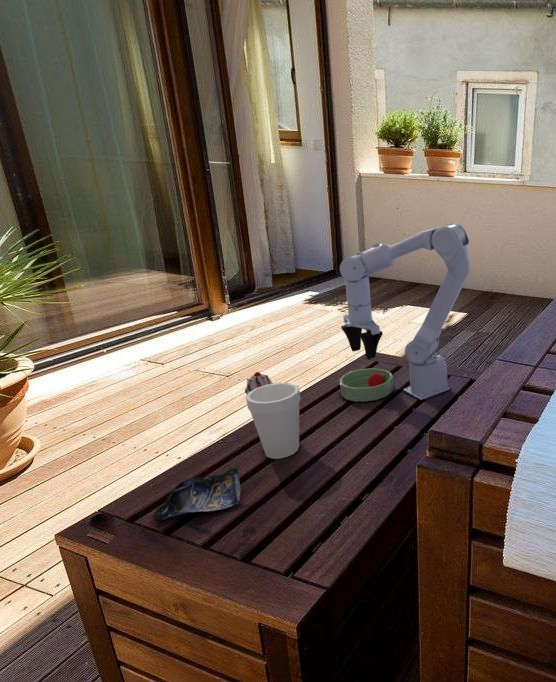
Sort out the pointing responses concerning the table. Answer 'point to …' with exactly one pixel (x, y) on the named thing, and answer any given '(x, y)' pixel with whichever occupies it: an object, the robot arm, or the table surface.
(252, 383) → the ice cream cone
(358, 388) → the bowl
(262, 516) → the table surface
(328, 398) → the table surface
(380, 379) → the tomato
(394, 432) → the table surface
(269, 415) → the foam cup
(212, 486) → the snack package
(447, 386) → the robot arm
